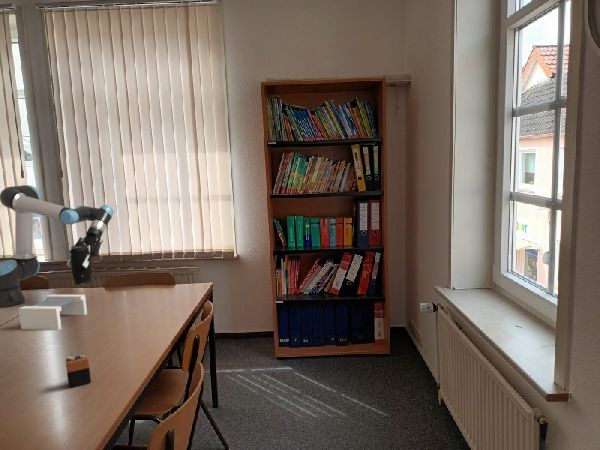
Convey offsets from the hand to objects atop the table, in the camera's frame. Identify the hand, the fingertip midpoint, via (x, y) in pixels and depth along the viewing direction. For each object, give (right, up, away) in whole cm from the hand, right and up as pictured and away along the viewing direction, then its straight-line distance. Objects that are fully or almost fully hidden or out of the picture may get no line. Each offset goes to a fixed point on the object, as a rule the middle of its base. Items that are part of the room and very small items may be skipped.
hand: (76, 266), depth 238 cm
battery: (+39, -34, -78) cm, 94 cm away
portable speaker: (+1, -10, +4) cm, 11 cm away
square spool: (-4, -26, -13) cm, 29 cm away
